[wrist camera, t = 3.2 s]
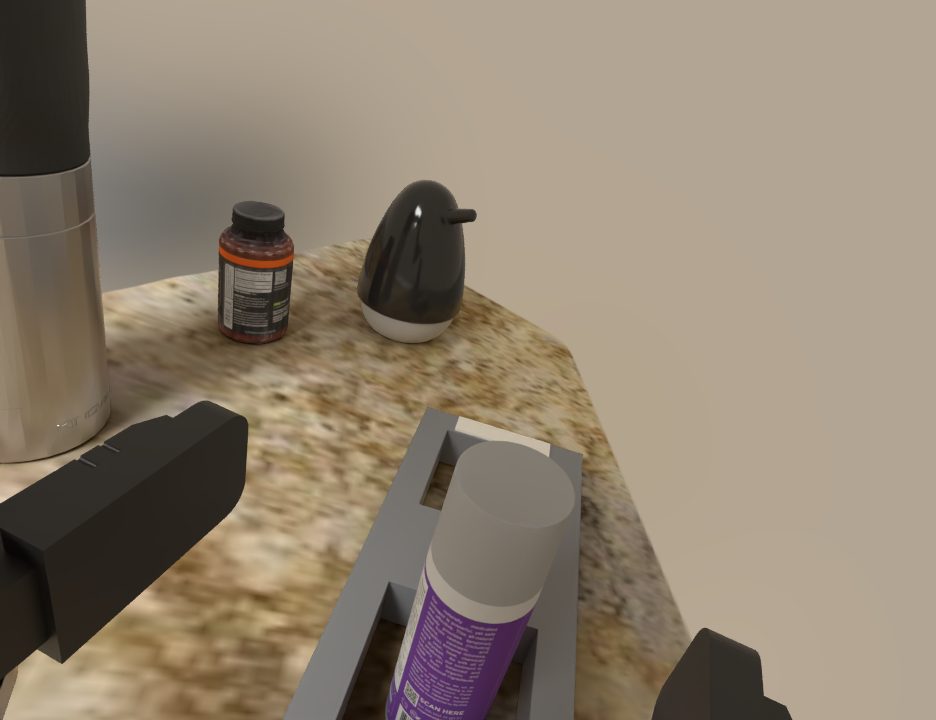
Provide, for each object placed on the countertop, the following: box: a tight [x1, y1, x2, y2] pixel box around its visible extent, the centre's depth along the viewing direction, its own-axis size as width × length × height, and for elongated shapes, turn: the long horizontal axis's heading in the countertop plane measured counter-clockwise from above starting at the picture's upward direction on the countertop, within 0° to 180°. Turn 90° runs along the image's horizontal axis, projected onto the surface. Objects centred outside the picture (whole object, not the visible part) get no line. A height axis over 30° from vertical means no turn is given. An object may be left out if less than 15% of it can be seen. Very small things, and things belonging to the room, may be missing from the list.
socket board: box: [283, 407, 583, 720], centre depth 34 cm, size 12×26×3 cm, turn 169°
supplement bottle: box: [218, 201, 294, 344], centre depth 52 cm, size 6×6×11 cm
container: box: [385, 441, 575, 720], centre depth 25 cm, size 5×5×15 cm
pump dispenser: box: [357, 180, 477, 343], centre depth 57 cm, size 10×10×15 cm
